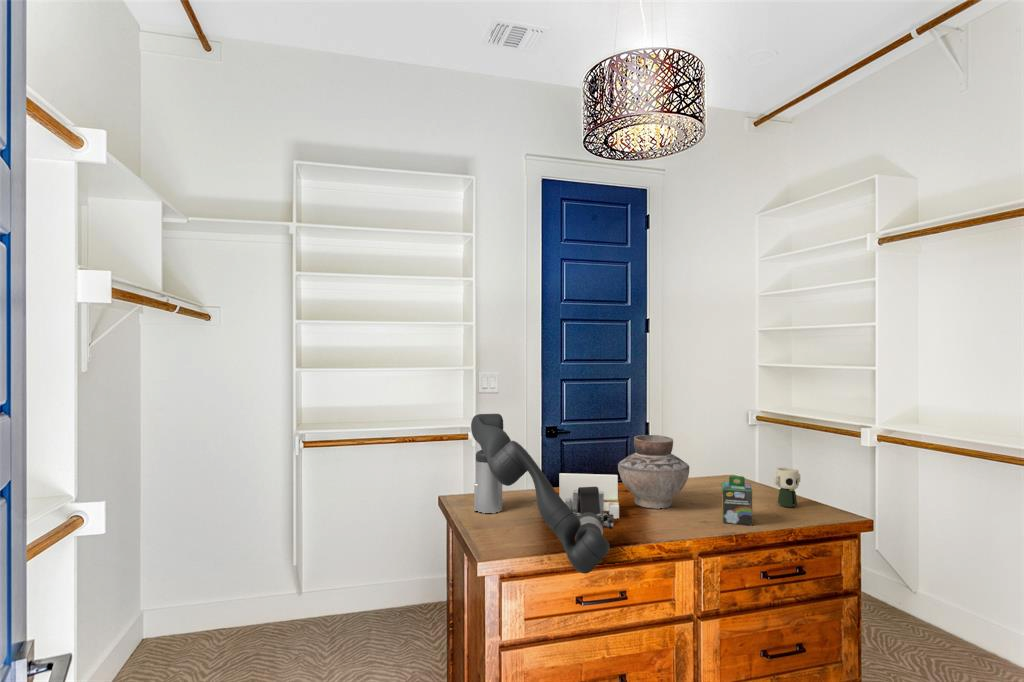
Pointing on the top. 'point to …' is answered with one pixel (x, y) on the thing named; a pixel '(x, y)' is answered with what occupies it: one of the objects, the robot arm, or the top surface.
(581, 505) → the phone stand
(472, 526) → the top surface
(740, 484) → the chalk box
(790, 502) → the character mug
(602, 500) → the block and dowel assembly
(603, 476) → the panel and block assembly
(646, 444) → the ceramic pot
